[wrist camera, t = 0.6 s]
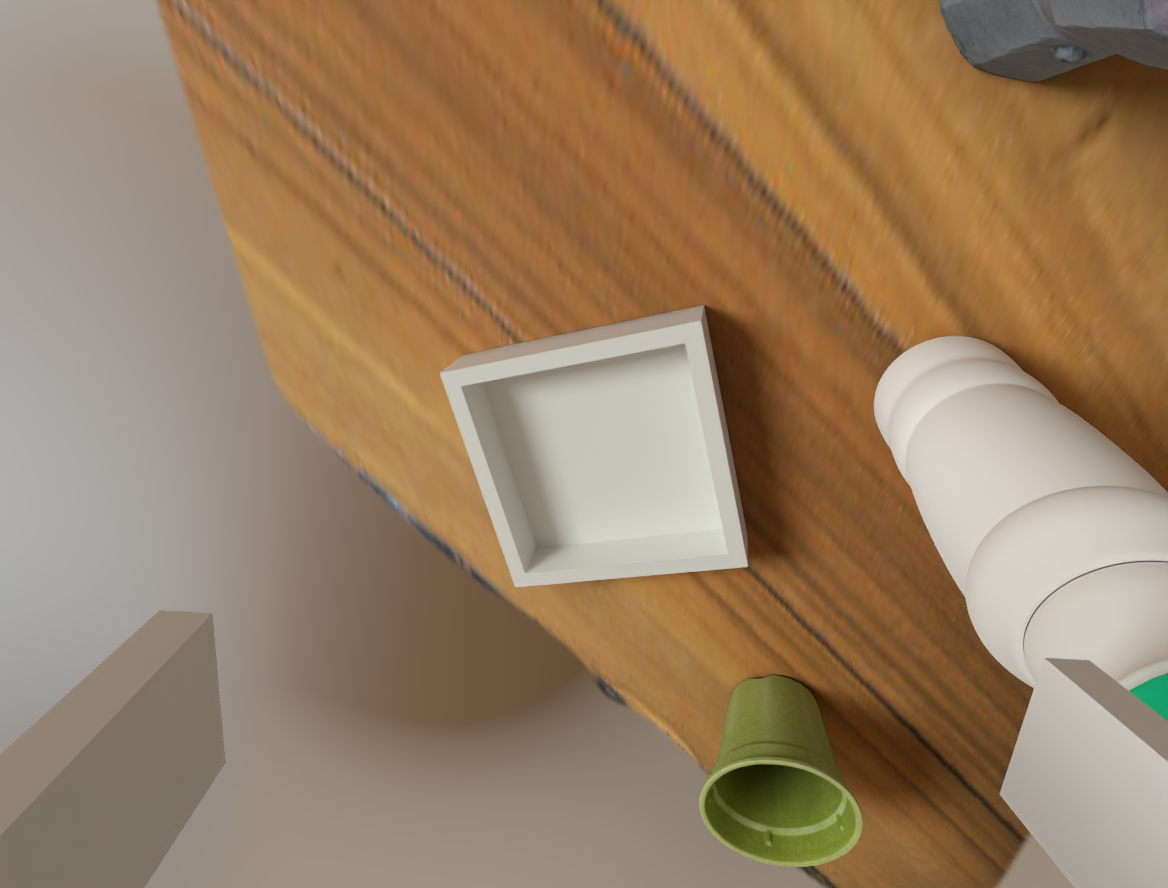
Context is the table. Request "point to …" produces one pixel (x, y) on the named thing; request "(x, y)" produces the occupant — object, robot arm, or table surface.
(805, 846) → the plant pot
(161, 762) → the robot arm
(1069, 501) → the water bottle
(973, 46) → the moka pot
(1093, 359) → the table surface
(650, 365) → the white tray
